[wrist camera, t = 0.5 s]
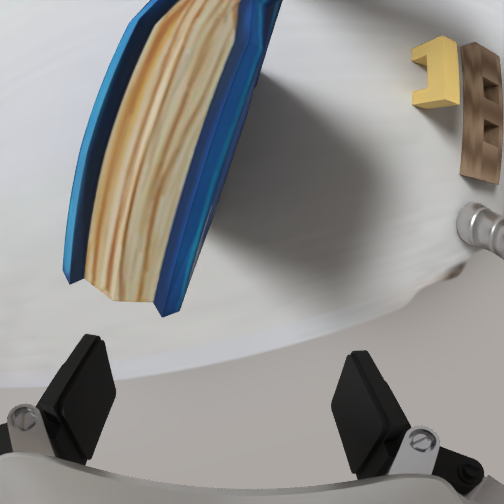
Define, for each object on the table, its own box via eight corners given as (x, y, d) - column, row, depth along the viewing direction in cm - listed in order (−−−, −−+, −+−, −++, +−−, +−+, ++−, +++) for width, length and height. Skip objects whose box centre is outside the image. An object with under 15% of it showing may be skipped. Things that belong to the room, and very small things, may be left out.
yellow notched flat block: (411, 49, 31) (441, 35, 24) (425, 54, 31) (456, 42, 24) (412, 104, 34) (445, 99, 27) (425, 108, 34) (459, 104, 27)
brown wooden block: (460, 46, 30) (475, 42, 27) (484, 59, 31) (499, 56, 27) (459, 174, 37) (475, 177, 34) (483, 181, 38) (498, 184, 34)
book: (213, 48, 31) (179, -78, 8) (267, 63, 32) (310, -54, 9) (160, 206, 38) (56, 292, 14) (212, 222, 39) (174, 335, 15)
